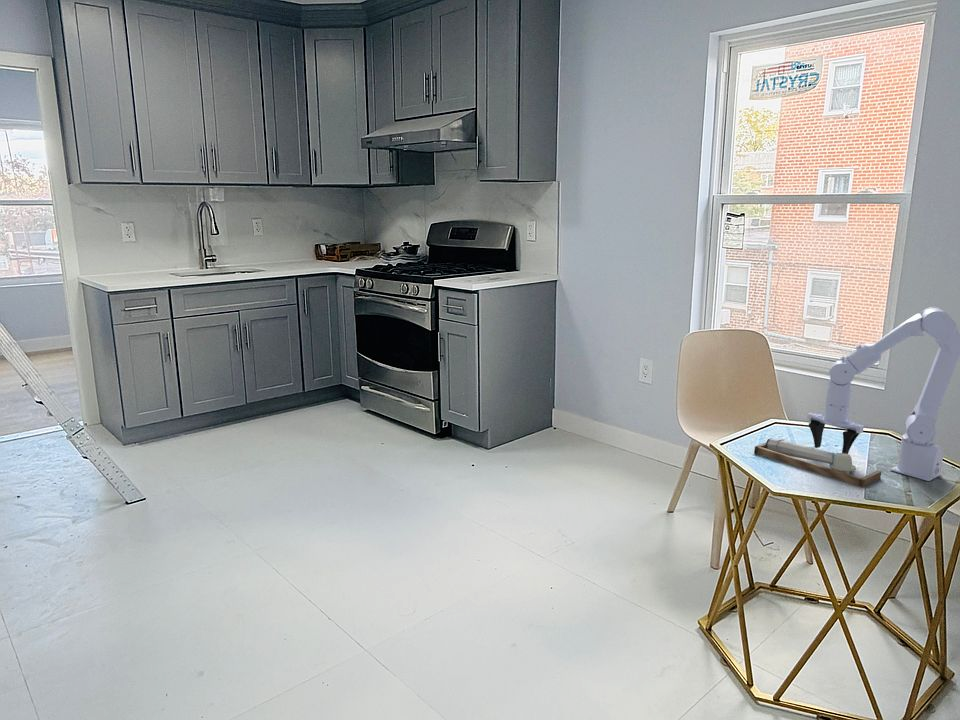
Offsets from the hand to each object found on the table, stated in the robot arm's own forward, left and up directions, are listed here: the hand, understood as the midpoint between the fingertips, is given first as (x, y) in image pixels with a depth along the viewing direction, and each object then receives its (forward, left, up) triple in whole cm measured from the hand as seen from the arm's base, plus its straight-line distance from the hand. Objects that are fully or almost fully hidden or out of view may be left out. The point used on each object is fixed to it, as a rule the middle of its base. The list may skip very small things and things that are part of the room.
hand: (830, 450), depth 193 cm
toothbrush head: (+2, +9, -3) cm, 9 cm away
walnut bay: (0, +9, -2) cm, 9 cm away
